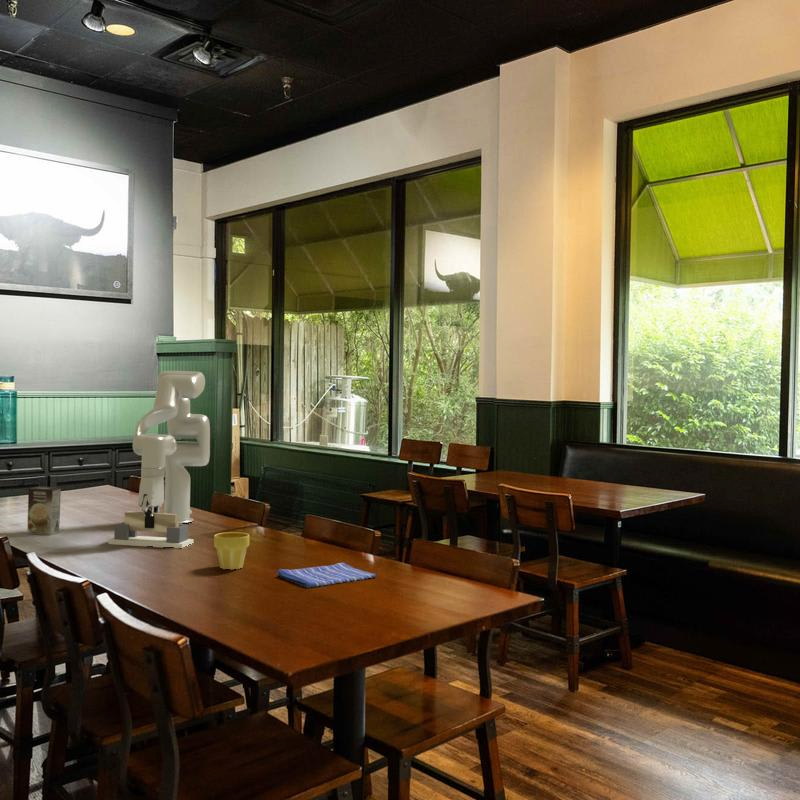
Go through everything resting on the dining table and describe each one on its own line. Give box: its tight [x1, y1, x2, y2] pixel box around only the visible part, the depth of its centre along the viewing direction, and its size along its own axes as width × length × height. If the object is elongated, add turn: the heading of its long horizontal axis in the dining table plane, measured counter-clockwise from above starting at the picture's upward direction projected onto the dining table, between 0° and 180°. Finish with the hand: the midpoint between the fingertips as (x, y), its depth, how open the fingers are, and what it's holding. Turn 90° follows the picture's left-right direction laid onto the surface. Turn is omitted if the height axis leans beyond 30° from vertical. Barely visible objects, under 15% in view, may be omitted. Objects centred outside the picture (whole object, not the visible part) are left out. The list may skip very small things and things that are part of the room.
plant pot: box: [213, 531, 250, 571], centre depth 239 cm, size 10×10×10 cm
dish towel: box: [276, 562, 377, 589], centre depth 231 cm, size 17×24×3 cm
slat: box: [124, 511, 179, 534], centre depth 271 cm, size 2×18×6 cm, turn 81°
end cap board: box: [108, 520, 194, 549], centre depth 271 cm, size 9×26×6 cm, turn 81°
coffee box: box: [26, 485, 62, 536], centre depth 284 cm, size 9×6×16 cm
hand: (151, 526), depth 271 cm, fingers closed on slat, 2 cm apart
